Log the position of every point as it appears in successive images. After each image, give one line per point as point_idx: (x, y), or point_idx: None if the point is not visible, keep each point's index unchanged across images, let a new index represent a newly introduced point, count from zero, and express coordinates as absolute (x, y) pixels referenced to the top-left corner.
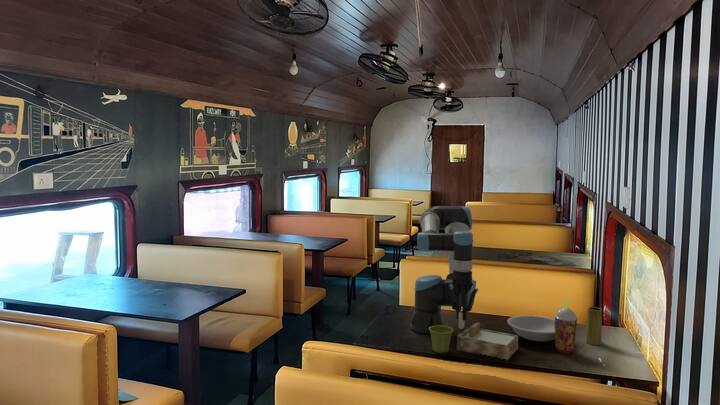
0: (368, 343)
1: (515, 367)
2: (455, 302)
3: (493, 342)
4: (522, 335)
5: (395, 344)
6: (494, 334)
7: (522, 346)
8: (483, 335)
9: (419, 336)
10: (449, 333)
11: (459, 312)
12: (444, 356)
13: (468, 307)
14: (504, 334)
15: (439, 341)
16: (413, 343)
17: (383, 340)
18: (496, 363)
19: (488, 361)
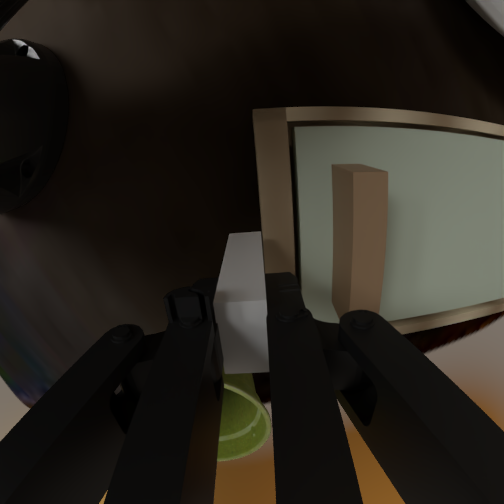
0: (24, 390)
1: (493, 315)
2: (110, 409)
3: (466, 313)
4: (495, 29)
5: (60, 371)
6: (450, 163)
7: (489, 81)
8: (403, 224)
9: (39, 248)
10: (262, 430)
11: (234, 372)
12: (259, 387)
13: (368, 419)
14: (487, 133)
15: (224, 417)
16: (82, 336)
17: (18, 355)
18: (446, 328)
19: (421, 331)
